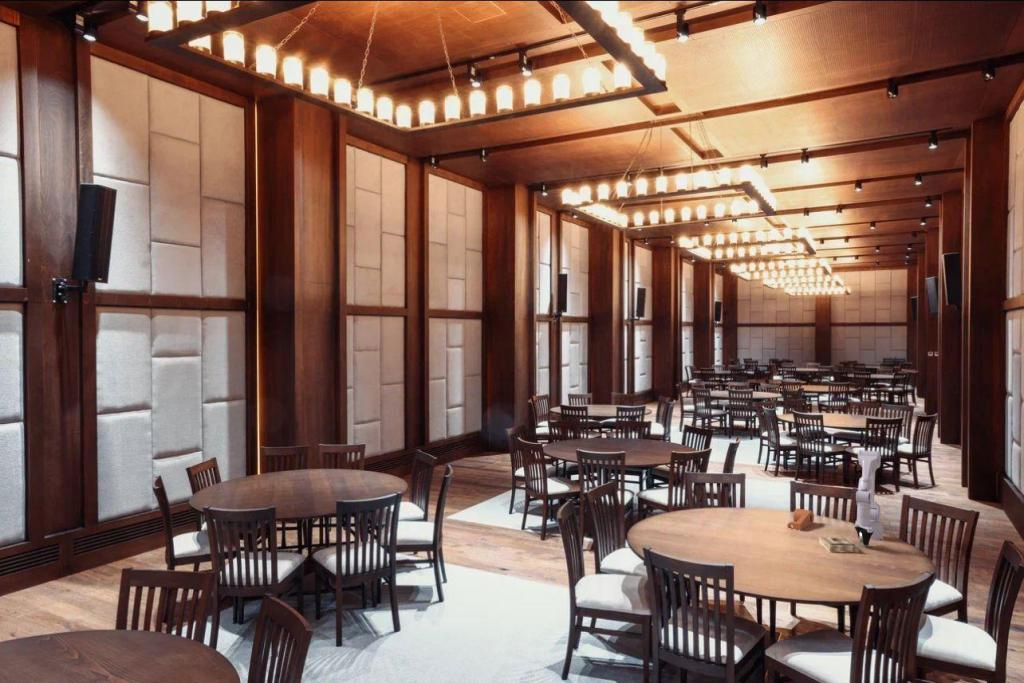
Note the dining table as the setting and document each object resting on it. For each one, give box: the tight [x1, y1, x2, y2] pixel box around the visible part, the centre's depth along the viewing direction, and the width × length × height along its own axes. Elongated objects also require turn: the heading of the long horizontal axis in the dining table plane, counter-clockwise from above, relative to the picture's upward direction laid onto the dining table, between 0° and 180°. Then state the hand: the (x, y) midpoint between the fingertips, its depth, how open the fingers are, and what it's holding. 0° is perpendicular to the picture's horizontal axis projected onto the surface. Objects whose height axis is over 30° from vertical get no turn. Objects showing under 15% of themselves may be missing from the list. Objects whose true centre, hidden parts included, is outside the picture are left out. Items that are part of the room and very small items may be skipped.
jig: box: [818, 536, 859, 554], centre depth 331 cm, size 13×14×4 cm
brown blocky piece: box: [787, 508, 815, 531], centre depth 370 cm, size 20×8×8 cm, turn 137°
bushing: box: [858, 532, 870, 549], centre depth 333 cm, size 4×4×7 cm
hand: (863, 543), depth 333 cm, fingers closed on bushing, 4 cm apart
